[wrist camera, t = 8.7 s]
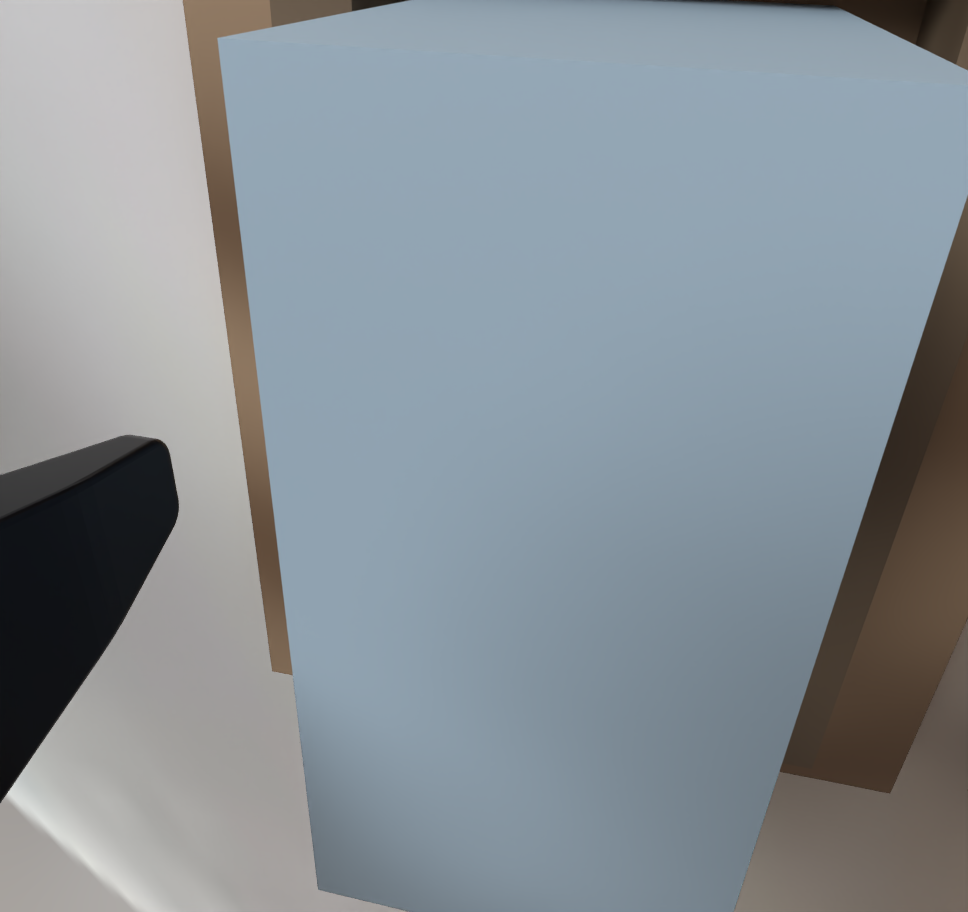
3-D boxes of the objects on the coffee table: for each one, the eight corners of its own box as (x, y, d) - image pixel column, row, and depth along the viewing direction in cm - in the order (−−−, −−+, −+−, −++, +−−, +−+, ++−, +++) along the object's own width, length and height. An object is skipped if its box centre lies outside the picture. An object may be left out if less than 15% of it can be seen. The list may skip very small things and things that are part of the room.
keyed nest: (164, -458, 10) (-10, -586, 8) (1407, -508, 8) (1723, -710, 6) (290, 640, 20) (230, 741, 17) (880, 752, 18) (910, 888, 15)
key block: (460, 539, 16) (317, 889, 10) (474, -13, 11) (216, 36, 5) (707, 579, 15) (709, 984, 9) (834, 5, 10) (1002, 87, 4)
